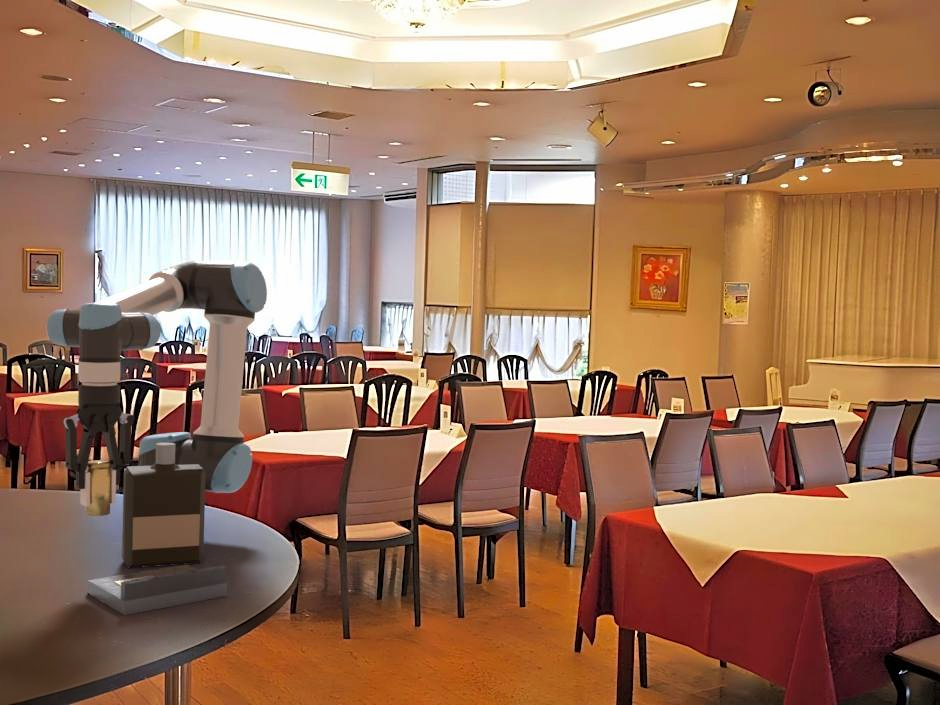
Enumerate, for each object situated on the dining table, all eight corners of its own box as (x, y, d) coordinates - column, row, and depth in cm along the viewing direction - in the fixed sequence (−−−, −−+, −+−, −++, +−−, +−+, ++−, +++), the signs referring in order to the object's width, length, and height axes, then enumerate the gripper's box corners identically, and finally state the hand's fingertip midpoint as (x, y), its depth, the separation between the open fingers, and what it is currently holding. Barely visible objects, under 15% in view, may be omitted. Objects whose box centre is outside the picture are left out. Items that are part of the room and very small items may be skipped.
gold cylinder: (104, 510, 199) (104, 459, 199) (113, 514, 196) (114, 463, 196) (82, 512, 196) (82, 461, 196) (91, 517, 193) (91, 465, 193)
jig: (186, 576, 203) (187, 549, 203) (226, 595, 191) (227, 567, 191) (87, 593, 190) (88, 564, 189) (124, 615, 178) (124, 584, 178)
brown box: (120, 559, 214) (123, 442, 213) (198, 554, 221) (201, 440, 219) (125, 569, 207) (127, 447, 205) (204, 563, 213) (208, 445, 212)
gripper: (134, 380, 203) (132, 495, 205) (45, 383, 191) (44, 505, 193) (151, 383, 198) (149, 501, 199) (61, 387, 186) (59, 513, 187)
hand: (98, 503), depth 196 cm, fingers closed on gold cylinder, 4 cm apart
